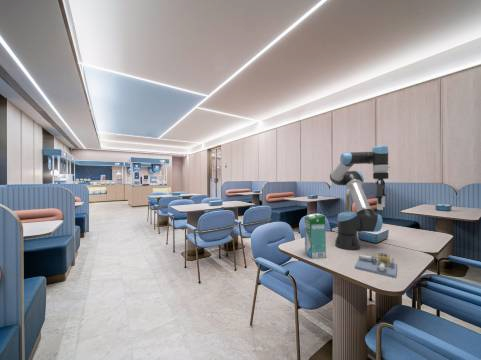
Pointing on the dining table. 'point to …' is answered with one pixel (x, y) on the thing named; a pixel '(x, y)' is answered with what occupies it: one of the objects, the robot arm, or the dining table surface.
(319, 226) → the milk carton
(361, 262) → the shaft bench
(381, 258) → the block
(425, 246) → the dining table surface
